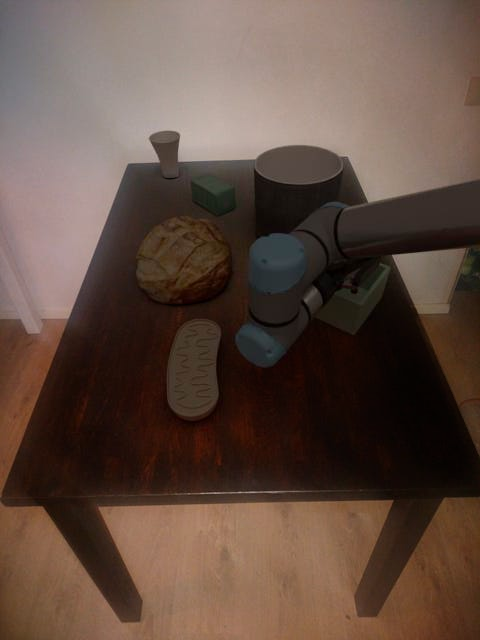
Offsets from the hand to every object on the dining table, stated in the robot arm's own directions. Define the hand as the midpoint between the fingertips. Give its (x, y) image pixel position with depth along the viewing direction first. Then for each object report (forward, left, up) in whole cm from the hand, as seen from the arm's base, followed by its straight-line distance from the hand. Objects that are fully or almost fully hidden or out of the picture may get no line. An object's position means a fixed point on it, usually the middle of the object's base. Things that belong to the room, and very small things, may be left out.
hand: (362, 230), depth 77 cm
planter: (+25, -16, -18) cm, 35 cm away
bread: (+38, +15, -18) cm, 45 cm away
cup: (+80, -22, -18) cm, 85 cm away
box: (+54, -15, -18) cm, 59 cm away
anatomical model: (+14, +38, -18) cm, 45 cm away
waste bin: (+1, +3, -18) cm, 18 cm away
